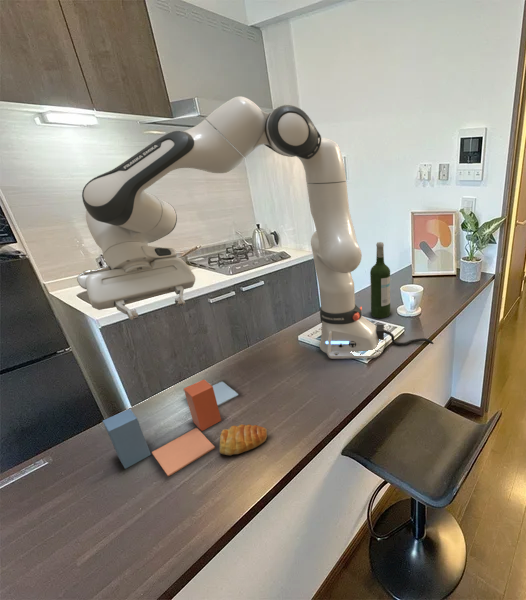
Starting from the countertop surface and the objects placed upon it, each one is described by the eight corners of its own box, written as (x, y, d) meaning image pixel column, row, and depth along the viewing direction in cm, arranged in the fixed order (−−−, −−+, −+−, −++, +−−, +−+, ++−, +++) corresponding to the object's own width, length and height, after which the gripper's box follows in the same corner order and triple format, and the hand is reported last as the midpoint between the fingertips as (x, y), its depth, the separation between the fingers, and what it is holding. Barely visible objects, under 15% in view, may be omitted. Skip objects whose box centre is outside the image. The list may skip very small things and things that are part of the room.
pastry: (267, 426, 77) (265, 414, 75) (267, 449, 71) (264, 435, 69) (223, 436, 74) (220, 423, 72) (219, 460, 68) (215, 447, 66)
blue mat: (187, 398, 85) (187, 397, 85) (222, 382, 92) (222, 381, 92) (203, 414, 80) (202, 412, 80) (238, 395, 87) (238, 394, 87)
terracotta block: (193, 422, 78) (183, 388, 74) (212, 412, 81) (204, 379, 77) (201, 431, 75) (191, 396, 71) (221, 420, 78) (212, 386, 75)
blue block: (118, 457, 68) (102, 420, 64) (143, 444, 71) (129, 408, 68) (125, 469, 66) (108, 431, 62) (151, 454, 69) (137, 418, 65)
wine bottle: (376, 309, 140) (375, 239, 128) (393, 312, 137) (393, 241, 125) (367, 316, 133) (365, 243, 122) (384, 319, 130) (384, 246, 118)
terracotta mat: (151, 453, 69) (151, 452, 69) (197, 428, 76) (196, 427, 76) (168, 476, 64) (167, 475, 64) (215, 448, 71) (214, 446, 71)
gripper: (71, 264, 67) (100, 320, 65) (181, 247, 82) (207, 292, 80) (74, 280, 71) (102, 333, 70) (178, 261, 86) (202, 304, 85)
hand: (159, 311), depth 75 cm, fingers open, 8 cm apart
